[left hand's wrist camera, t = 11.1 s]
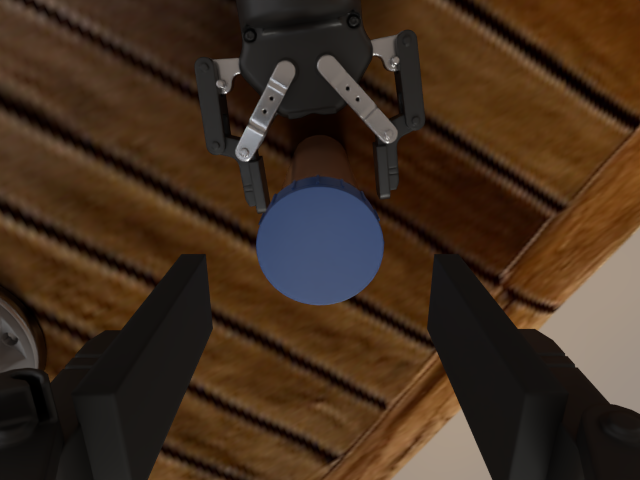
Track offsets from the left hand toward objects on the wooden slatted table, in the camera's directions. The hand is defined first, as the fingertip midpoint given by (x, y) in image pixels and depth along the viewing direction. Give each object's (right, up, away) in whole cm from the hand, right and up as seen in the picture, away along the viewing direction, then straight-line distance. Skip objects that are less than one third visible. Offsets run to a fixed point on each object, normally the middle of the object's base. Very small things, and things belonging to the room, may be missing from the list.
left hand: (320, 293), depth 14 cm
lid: (0, +2, +4) cm, 4 cm away
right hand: (0, +4, +17) cm, 17 cm away
